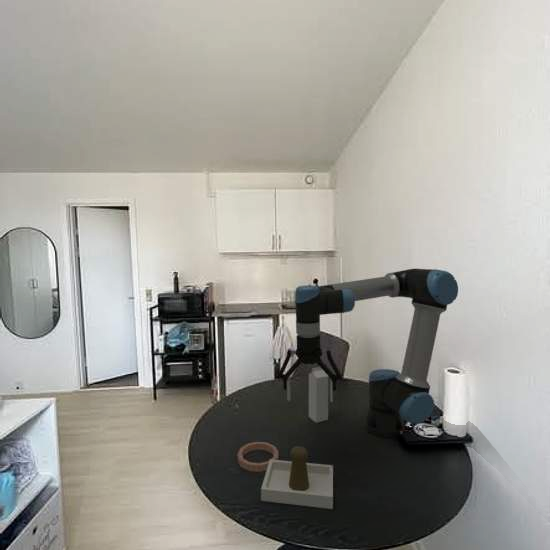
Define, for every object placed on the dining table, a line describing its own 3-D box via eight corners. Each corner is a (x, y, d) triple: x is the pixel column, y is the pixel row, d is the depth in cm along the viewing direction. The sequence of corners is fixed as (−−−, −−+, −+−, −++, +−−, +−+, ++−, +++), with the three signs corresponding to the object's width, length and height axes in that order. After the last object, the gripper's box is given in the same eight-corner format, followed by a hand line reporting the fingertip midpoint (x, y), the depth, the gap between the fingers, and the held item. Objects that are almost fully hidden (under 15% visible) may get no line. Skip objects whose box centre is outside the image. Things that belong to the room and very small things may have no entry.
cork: (295, 494, 98) (295, 457, 97) (285, 481, 103) (285, 446, 103) (313, 487, 101) (313, 451, 100) (302, 475, 106) (302, 441, 106)
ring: (280, 449, 122) (280, 443, 122) (274, 473, 109) (274, 467, 109) (244, 446, 124) (244, 440, 124) (233, 469, 111) (233, 463, 111)
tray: (332, 476, 108) (332, 465, 107) (332, 509, 94) (332, 496, 94) (270, 469, 111) (270, 459, 111) (261, 500, 97) (261, 488, 97)
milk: (308, 417, 146) (308, 366, 145) (320, 413, 149) (320, 364, 148) (316, 423, 141) (316, 370, 139) (328, 419, 144) (328, 368, 142)
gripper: (347, 331, 110) (348, 395, 112) (270, 331, 114) (273, 393, 115) (349, 337, 103) (350, 406, 105) (267, 337, 106) (269, 403, 108)
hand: (310, 399), depth 110 cm, fingers open, 13 cm apart
